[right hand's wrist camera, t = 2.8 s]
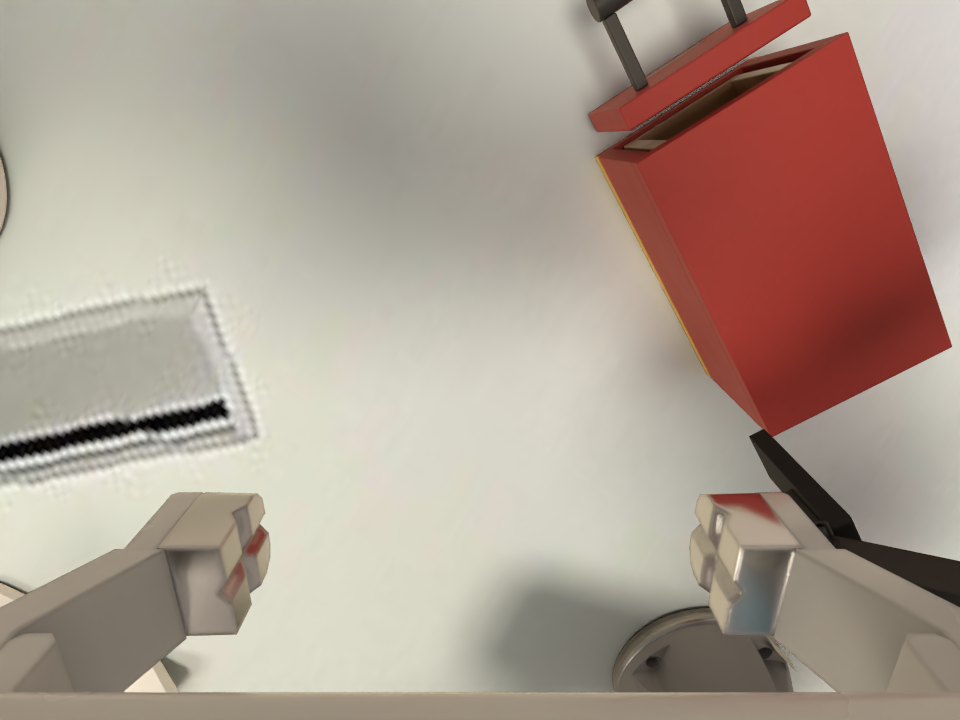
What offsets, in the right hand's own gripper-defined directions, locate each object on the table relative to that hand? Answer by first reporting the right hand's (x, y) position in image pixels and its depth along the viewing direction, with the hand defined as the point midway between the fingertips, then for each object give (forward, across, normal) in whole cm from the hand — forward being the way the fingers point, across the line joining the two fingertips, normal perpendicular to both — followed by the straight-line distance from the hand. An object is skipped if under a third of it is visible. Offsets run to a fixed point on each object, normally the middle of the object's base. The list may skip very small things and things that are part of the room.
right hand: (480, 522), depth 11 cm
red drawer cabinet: (+29, +16, +1) cm, 33 cm away
